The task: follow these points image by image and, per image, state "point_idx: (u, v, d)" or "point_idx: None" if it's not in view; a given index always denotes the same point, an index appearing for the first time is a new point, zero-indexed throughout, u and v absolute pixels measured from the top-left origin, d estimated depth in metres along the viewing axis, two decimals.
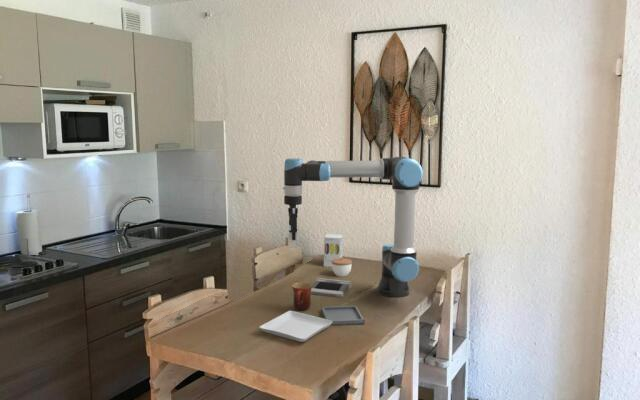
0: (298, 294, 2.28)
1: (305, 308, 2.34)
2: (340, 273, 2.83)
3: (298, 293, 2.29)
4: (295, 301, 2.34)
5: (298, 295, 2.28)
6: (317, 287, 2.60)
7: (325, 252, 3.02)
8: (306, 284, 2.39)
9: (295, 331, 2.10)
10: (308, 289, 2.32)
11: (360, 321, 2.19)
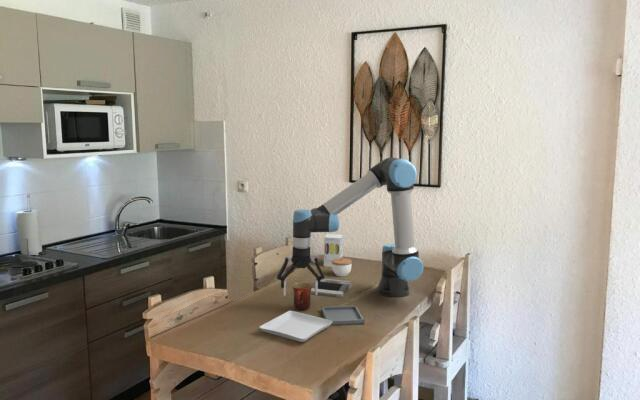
0: (298, 294, 2.28)
1: (305, 308, 2.34)
2: (340, 273, 2.83)
3: (298, 293, 2.29)
4: (295, 301, 2.34)
5: (298, 295, 2.28)
6: None
7: (325, 252, 3.02)
8: (306, 284, 2.39)
9: (295, 331, 2.10)
10: (308, 289, 2.32)
11: (360, 321, 2.19)
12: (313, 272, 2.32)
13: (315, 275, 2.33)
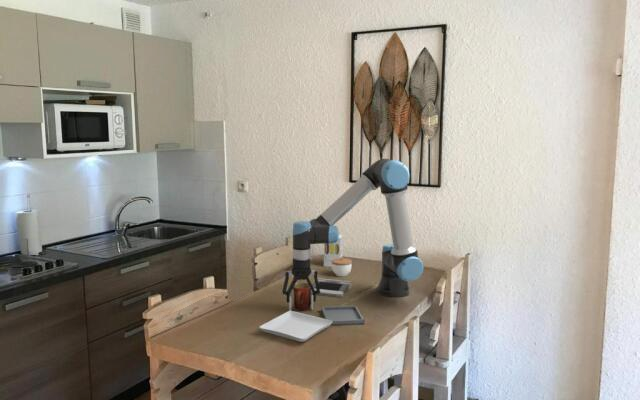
0: (298, 294, 2.28)
1: (305, 308, 2.34)
2: (340, 273, 2.83)
3: (298, 293, 2.29)
4: (295, 301, 2.34)
5: (298, 295, 2.28)
6: None
7: (325, 252, 3.02)
8: (306, 284, 2.39)
9: (295, 331, 2.10)
10: (308, 289, 2.32)
11: (360, 321, 2.19)
12: (310, 285, 2.33)
13: (312, 289, 2.33)
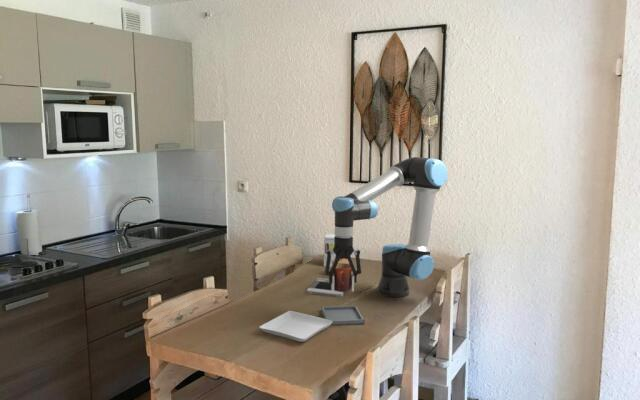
0: (339, 274, 2.18)
1: (346, 289, 2.23)
2: None
3: (339, 273, 2.18)
4: (335, 282, 2.24)
5: (339, 275, 2.18)
6: (317, 287, 2.60)
7: (325, 252, 3.02)
8: (346, 265, 2.28)
9: (295, 331, 2.10)
10: (349, 269, 2.22)
11: (360, 321, 2.19)
12: (352, 265, 2.23)
13: (353, 269, 2.23)
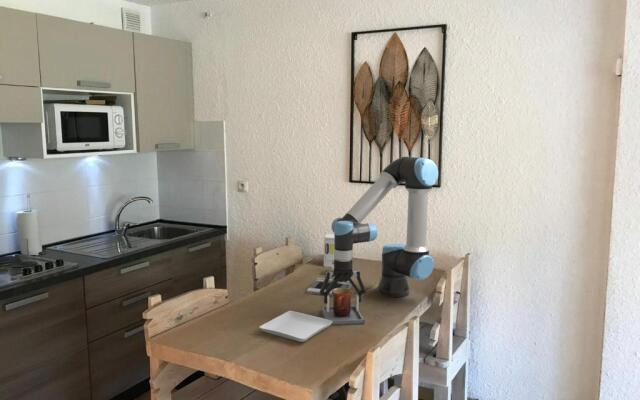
0: (339, 300, 2.20)
1: (345, 314, 2.25)
2: None
3: (339, 299, 2.20)
4: (334, 307, 2.25)
5: (339, 301, 2.19)
6: (317, 287, 2.60)
7: (325, 252, 3.02)
8: (346, 289, 2.30)
9: (295, 331, 2.10)
10: (349, 295, 2.24)
11: (360, 321, 2.19)
12: (354, 286, 2.24)
13: (356, 289, 2.24)
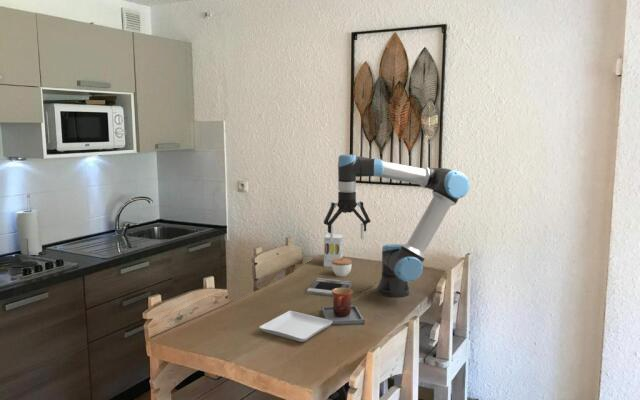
0: (339, 300, 2.20)
1: (345, 314, 2.25)
2: (340, 273, 2.83)
3: (339, 299, 2.20)
4: (334, 307, 2.25)
5: (339, 301, 2.19)
6: (317, 287, 2.60)
7: (325, 252, 3.02)
8: (346, 289, 2.30)
9: (295, 331, 2.10)
10: (349, 295, 2.24)
11: (360, 321, 2.19)
12: (359, 216, 2.35)
13: (361, 219, 2.35)
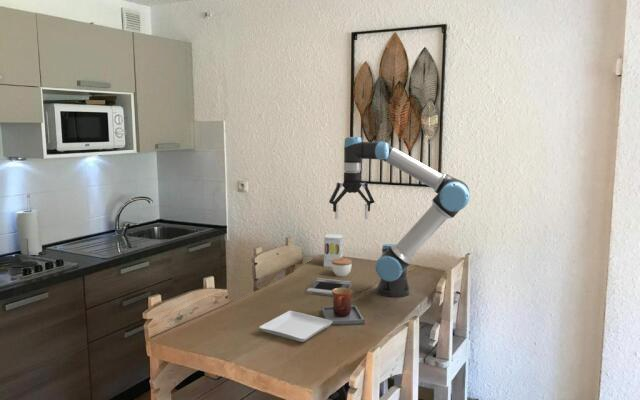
0: (339, 300, 2.20)
1: (345, 314, 2.25)
2: (340, 273, 2.83)
3: (339, 299, 2.20)
4: (334, 307, 2.25)
5: (339, 301, 2.19)
6: (317, 287, 2.60)
7: (325, 252, 3.02)
8: (346, 289, 2.30)
9: (295, 331, 2.10)
10: (349, 295, 2.24)
11: (360, 321, 2.19)
12: (363, 196, 2.45)
13: (365, 199, 2.45)
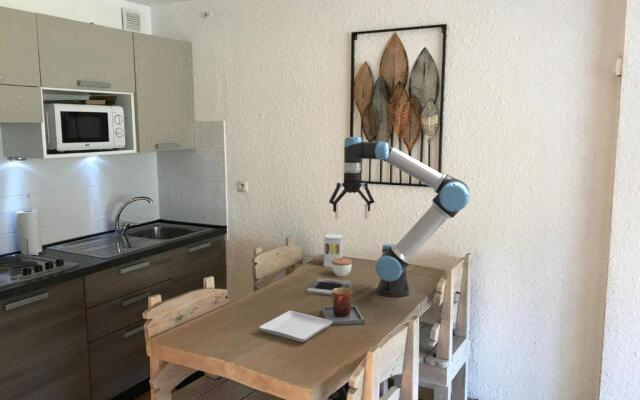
0: (339, 300, 2.20)
1: (345, 314, 2.25)
2: (340, 273, 2.83)
3: (339, 299, 2.20)
4: (334, 307, 2.25)
5: (339, 301, 2.19)
6: (317, 287, 2.60)
7: (325, 252, 3.02)
8: (346, 289, 2.30)
9: (295, 331, 2.10)
10: (349, 295, 2.24)
11: (360, 321, 2.19)
12: (363, 196, 2.45)
13: (365, 199, 2.45)
